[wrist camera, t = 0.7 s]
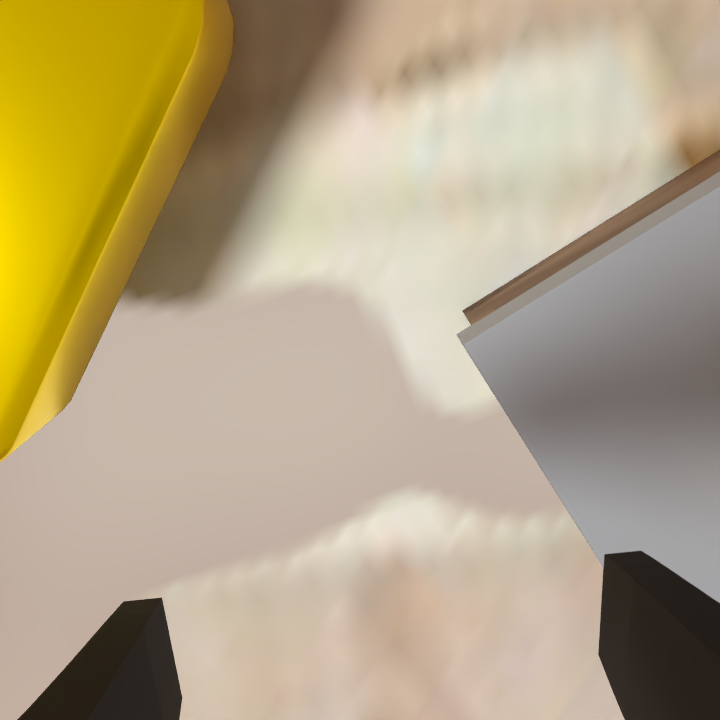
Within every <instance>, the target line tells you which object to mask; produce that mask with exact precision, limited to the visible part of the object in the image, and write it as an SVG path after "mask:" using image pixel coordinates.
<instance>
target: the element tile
mask: <svg viewBox="0 0 720 720" xmlns="http://www.w3.org/2000/svg"><path fill="white" fill-rule="evenodd" d="M233 30H234V20H233V17H232V14H231V10H230V7H229V4H228V0H0V462H1V461H3V460H4V459H5V458H6V457H8V456H9V455H10V454H11V453H12V452H14V451H15V450H16V449H17V448H18V447H20V446H21V445H22V444H23V443H24V442H25V441H27V440H28V439H29V438H30V437H31V436H33V434H35V433H36V432H37V431H39V430H40V429H41V428H42V427H43V426H44V425H46V424H47V423H48V422H49V421H50V420H52V419H53V418H54V417H55V416H56V415H58V414H59V413H60V412H61V411H62V410H63V409H64V408H65V407H66V405H67V404H68V403H69V402H70V401H71V399H72V397H73V395H74V393H75V391H76V389H77V386H78V384H79V382H80V380H81V378H82V376H83V374H84V372H85V370H86V368H87V365H88V363H89V361H90V359H91V357H92V355H93V353H94V351H95V349H96V347H97V344H98V342H99V340H100V338H101V336H102V334H103V332H104V330H105V328H106V326H107V323H108V321H109V319H110V317H111V315H112V313H113V311H114V309H115V307H116V305H117V302H118V300H119V298H120V296H121V294H122V292H123V290H124V288H125V285H126V283H127V281H128V279H129V277H130V275H131V273H132V271H133V269H134V267H135V264H136V262H137V260H138V258H139V256H140V254H141V252H142V250H143V248H144V246H145V243H146V241H147V239H148V237H149V235H150V233H151V231H152V229H153V227H154V225H155V222H156V220H157V218H158V216H159V214H160V212H161V210H162V208H163V206H164V203H165V201H166V199H167V197H168V195H169V193H170V191H171V189H172V187H173V185H174V182H175V180H176V178H177V176H178V174H179V172H180V170H181V168H182V166H183V164H184V161H185V159H186V157H187V155H188V153H189V151H190V149H191V147H192V145H193V143H194V140H195V138H196V136H197V134H198V132H199V130H200V128H201V126H202V124H203V121H204V119H205V117H206V115H207V113H208V111H209V109H210V107H211V105H212V103H213V100H214V98H215V96H216V94H217V92H218V90H219V88H220V86H221V84H222V82H223V79H224V77H225V75H226V72H227V69H228V65H229V62H230V58H231V55H232V49H233Z"/></svg>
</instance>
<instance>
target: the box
mask: <svg viewBox="0 0 720 720" xmlns="http://www.w3.org/2000/svg"><path fill="white" fill-rule="evenodd" d="M719 171H720V150H719V151H717V152H716V153H714V154H713V155H711V156H709V157H708V158H706V159H705V160H703V161H701V162H700V163H698V164H697V165H695V166H693V167H692V168H690V169H689V170H687V171H685V172H684V173H682V174H681V175H679V176H677V177H676V178H674V179H673V180H671V181H669V182H668V183H666V184H665V185H663V186H661V187H660V188H658V189H657V190H655V191H653V192H652V193H650V194H649V195H647V196H645V197H644V198H642V199H641V200H639V201H637V202H636V203H634V204H633V205H631V206H629V207H628V208H626V209H625V210H623V211H621V212H620V213H618V214H617V215H615V216H613V217H612V218H610V219H609V220H607V221H605V222H604V223H602V224H601V225H599V226H597V227H596V228H594V229H593V230H591V231H589V232H588V233H586V234H585V235H583V236H581V237H580V238H578V239H577V240H575V241H573V242H572V243H570V244H569V245H567V246H565V247H564V248H562V249H561V250H559V251H557V252H556V253H554V254H553V255H551V256H549V257H548V258H546V259H545V260H543V261H541V262H540V263H538V264H537V265H535V266H533V267H532V268H530V269H529V270H527V271H525V272H524V273H522V274H521V275H519V276H517V277H516V278H514V279H513V280H511V281H509V282H508V283H506V284H505V285H503V286H501V287H500V288H498V289H497V290H495V291H493V292H492V293H490V294H489V295H487V296H485V297H484V298H482V299H481V300H479V301H477V302H476V303H474V304H473V305H471V306H469V307H468V308H466V309H465V310H463V312H464V314H465V316H466V317H467V319H468V321H469V322H470V324H471V325H473V324H474V323H476V322H478V321H479V320H481V319H482V318H484V317H486V316H487V315H489V314H491V313H492V312H494V311H495V310H497V309H499V308H500V307H502V306H503V305H505V304H507V303H508V302H510V301H511V300H513V299H515V298H516V297H518V296H520V295H521V294H523V293H524V292H526V291H528V290H529V289H531V288H532V287H534V286H536V285H537V284H539V283H540V282H542V281H544V280H545V279H547V278H549V277H550V276H552V275H553V274H555V273H557V272H558V271H560V270H561V269H563V268H565V267H566V266H568V265H570V264H571V263H573V262H574V261H576V260H578V259H579V258H581V257H582V256H584V255H586V254H587V253H589V252H590V251H592V250H594V249H595V248H597V247H599V246H600V245H602V244H603V243H605V242H607V241H608V240H610V239H611V238H613V237H615V236H616V235H618V234H619V233H621V232H623V231H624V230H626V229H628V228H629V227H631V226H632V225H634V224H636V223H637V222H639V221H640V220H642V219H644V218H645V217H647V216H648V215H650V214H652V213H653V212H655V211H657V210H658V209H660V208H661V207H663V206H665V205H666V204H668V203H669V202H671V201H673V200H674V199H676V198H678V197H679V196H681V195H682V194H684V193H686V192H687V191H689V190H690V189H692V188H694V187H695V186H697V185H698V184H700V183H702V182H703V181H705V180H707V179H708V178H710V177H711V176H713V175H715V174H716V173H718V172H719Z"/></svg>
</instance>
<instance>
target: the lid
mask: <svg viewBox="0 0 720 720" xmlns="http://www.w3.org/2000/svg"><path fill="white" fill-rule="evenodd" d="M457 336H458V338H459V339H460V341H461V343H462V345H463V346H464V348H465V349H466V351H467V352H468V354H469V356H470V357H471V359H472V360H473V362H474V364H475V365H476V367H477V368H478V370H479V371H480V373H481V375H482V376H483V378H484V379H485V381H486V383H487V384H488V386H489V387H490V389H491V390H492V392H493V394H494V395H495V397H496V398H497V400H498V402H499V403H500V405H501V406H502V408H503V409H504V411H505V413H506V414H507V416H508V417H509V419H510V421H511V422H512V424H513V425H514V427H515V428H516V430H517V432H518V433H519V435H520V436H521V438H522V439H523V441H524V443H525V444H526V446H527V447H528V449H529V451H530V452H531V454H532V455H533V457H534V458H535V460H536V462H537V463H538V465H539V466H540V468H541V470H542V471H543V473H544V474H545V476H546V477H547V479H548V481H549V482H550V484H551V485H552V487H553V489H554V490H555V491H556V493H557V495H558V496H559V498H560V500H561V501H562V503H563V504H564V506H565V508H566V509H567V511H568V512H569V514H570V515H571V517H572V519H573V520H574V522H575V523H576V525H577V527H578V528H579V530H580V531H581V533H582V534H583V536H584V538H585V539H586V541H587V542H588V544H589V546H590V547H591V549H592V550H593V552H594V553H595V555H596V557H597V558H598V560H599V561H600V563H601V565H602V566H603V568H604V554H612V553H622V552H632V551H643V552H644V553H646V554H647V555H649V556H651V557H652V558H654V559H655V560H657V561H658V562H660V563H661V564H663V565H664V566H666V567H667V568H669V569H670V570H672V571H673V572H675V573H676V574H678V575H679V576H681V577H682V578H683V579H685V580H686V581H688V582H689V583H691V584H692V585H694V586H695V587H697V588H698V589H700V590H701V591H703V592H704V593H706V594H707V595H708V596H710V597H711V598H713V599H714V600H716V601H717V602H719V603H720V171H719V172H718V173H716V174H715V175H713V176H711V177H710V178H708V179H707V180H705V181H703V182H702V183H700V184H698V185H697V186H695V187H694V188H692V189H690V190H689V191H687V192H686V193H684V194H682V195H681V196H679V197H678V198H676V199H674V200H673V201H671V202H669V203H668V204H666V205H665V206H663V207H661V208H660V209H658V210H657V211H655V212H653V213H652V214H650V215H648V216H647V217H645V218H644V219H642V220H640V221H639V222H637V223H636V224H634V225H632V226H631V227H629V228H628V229H626V230H624V231H623V232H621V233H619V234H618V235H616V236H615V237H613V238H611V239H610V240H608V241H607V242H605V243H603V244H602V245H600V246H599V247H597V248H595V249H594V250H592V251H590V252H589V253H587V254H586V255H584V256H582V257H581V258H579V259H578V260H576V261H574V262H573V263H571V264H570V265H568V266H566V267H565V268H563V269H561V270H560V271H558V272H557V273H555V274H553V275H552V276H550V277H549V278H547V279H545V280H544V281H542V282H540V283H539V284H537V285H536V286H534V287H532V288H531V289H529V290H528V291H526V292H524V293H523V294H521V295H520V296H518V297H516V298H515V299H513V300H511V301H510V302H508V303H507V304H505V305H503V306H502V307H500V308H499V309H497V310H495V311H494V312H492V313H491V314H489V315H487V316H486V317H484V318H482V319H481V320H479V321H478V322H476V323H474V324H473V325H471V326H470V327H468V328H466V329H465V330H463V331H461V332H460V333H458V334H457Z"/></svg>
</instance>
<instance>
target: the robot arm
mask: <svg viewBox="0 0 720 720" xmlns="http://www.w3.org/2000/svg"><path fill="white" fill-rule="evenodd" d="M599 657H600V659H601V662H602V665H603V667H604V670H605V672H606V675H607V678H608V680H609V683H610V685H611V688H612V690H613V693H614V695H615V697H616V700H617V702H618V705H619V707H620V710H621V712H622V714H623V716H624V718H625V720H720V603H719V602H717V601H716V600H714V599H713V598H711V597H710V596H708V595H707V594H706V593H704V592H703V591H701V590H700V589H698V588H697V587H695V586H694V585H692V584H691V583H689V582H688V581H686V580H685V579H683V578H682V577H681V576H679V575H678V574H676V573H675V572H673V571H672V570H670V569H669V568H667V567H666V566H664V565H663V564H661V563H660V562H658V561H657V560H655V559H654V558H652V557H651V556H649V555H647V554H646V553H644V552H643V551H632V552H622V553H612V554H604V570H603V587H602V604H601V621H600V638H599ZM181 702H182V695H181V690H180V685H179V680H178V675H177V670H176V665H175V660H174V655H173V650H172V646H171V641H170V636H169V631H168V626H167V621H166V616H165V611H164V606H163V601H162V598H155V599H145V600H135V601H125V602H123V603H122V604H121V605H120V606H119V607H118V608H117V610H116V611H115V612H114V613H113V614H112V615H111V616H110V617H109V618H108V620H107V621H106V622H105V623H104V624H103V625H102V626H101V628H100V629H99V630H98V631H97V632H96V633H95V634H94V635H93V637H92V638H91V639H90V640H89V641H88V642H87V644H86V645H85V646H84V647H83V648H82V649H81V651H80V652H79V653H78V654H77V655H76V656H75V657H74V658H73V660H72V661H71V662H70V663H69V664H68V665H67V666H66V668H65V669H64V670H63V671H62V672H61V673H60V674H59V675H58V676H57V678H56V679H55V680H54V681H53V682H52V683H51V684H50V685H49V687H47V689H46V690H45V691H44V692H43V693H42V694H41V695H40V696H39V697H38V698H37V700H36V701H35V702H34V703H33V704H32V705H31V706H30V707H29V708H28V709H27V710H26V712H25V713H24V714H23V715H21V717H20V718H19V719H18V720H179V717H180V709H181Z"/></svg>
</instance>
